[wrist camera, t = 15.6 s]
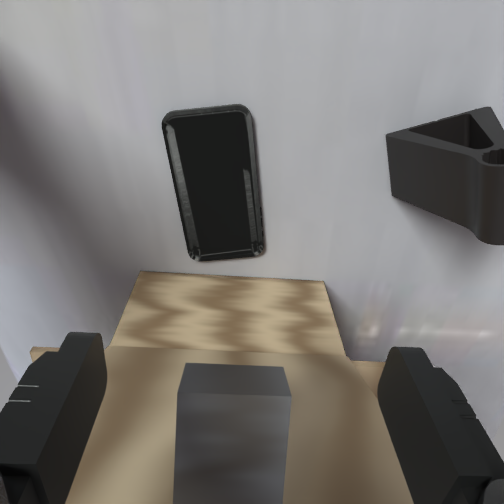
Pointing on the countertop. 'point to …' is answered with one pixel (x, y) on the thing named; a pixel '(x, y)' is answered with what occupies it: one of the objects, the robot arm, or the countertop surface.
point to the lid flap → (236, 432)
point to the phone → (215, 180)
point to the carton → (231, 317)
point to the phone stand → (453, 170)
